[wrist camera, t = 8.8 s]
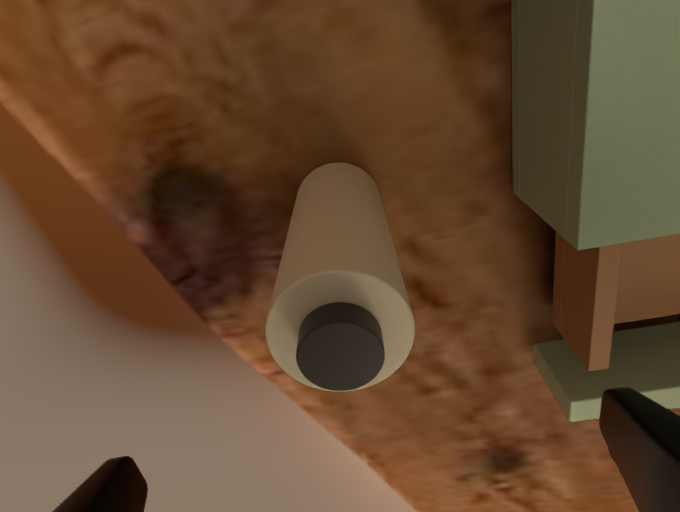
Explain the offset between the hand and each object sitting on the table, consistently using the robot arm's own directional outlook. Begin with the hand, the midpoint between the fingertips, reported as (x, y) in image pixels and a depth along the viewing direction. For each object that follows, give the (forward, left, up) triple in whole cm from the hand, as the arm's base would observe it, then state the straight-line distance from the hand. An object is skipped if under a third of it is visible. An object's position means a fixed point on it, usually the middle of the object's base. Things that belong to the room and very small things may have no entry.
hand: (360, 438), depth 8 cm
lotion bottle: (0, 0, -12) cm, 12 cm away
